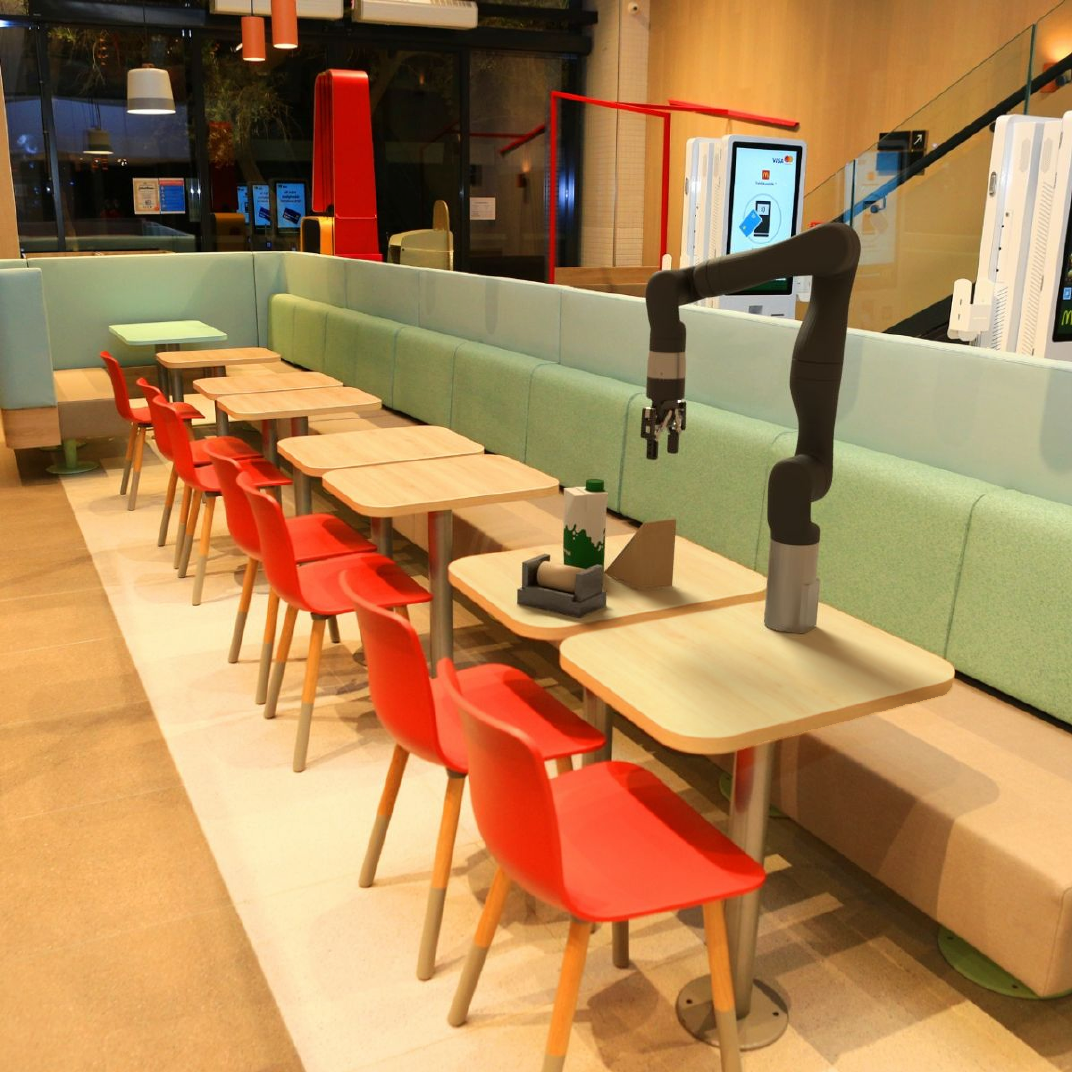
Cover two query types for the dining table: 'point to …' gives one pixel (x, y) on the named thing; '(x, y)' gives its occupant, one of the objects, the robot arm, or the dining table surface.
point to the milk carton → (585, 524)
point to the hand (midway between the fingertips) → (662, 456)
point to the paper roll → (557, 576)
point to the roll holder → (559, 601)
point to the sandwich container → (647, 557)
